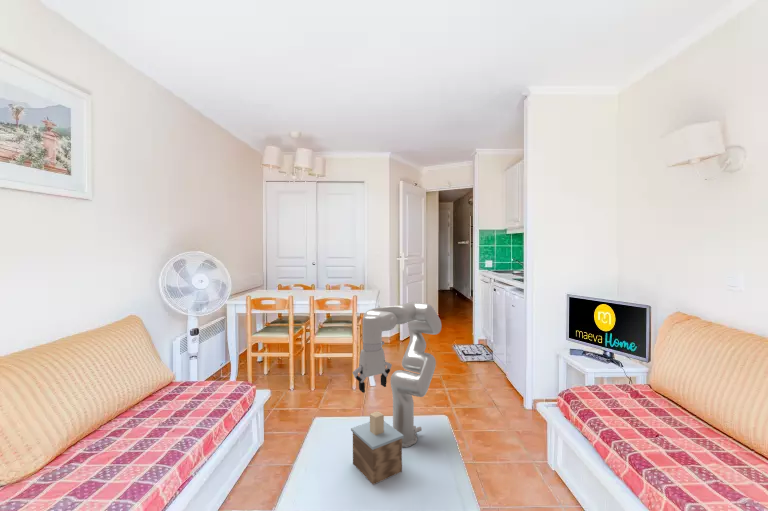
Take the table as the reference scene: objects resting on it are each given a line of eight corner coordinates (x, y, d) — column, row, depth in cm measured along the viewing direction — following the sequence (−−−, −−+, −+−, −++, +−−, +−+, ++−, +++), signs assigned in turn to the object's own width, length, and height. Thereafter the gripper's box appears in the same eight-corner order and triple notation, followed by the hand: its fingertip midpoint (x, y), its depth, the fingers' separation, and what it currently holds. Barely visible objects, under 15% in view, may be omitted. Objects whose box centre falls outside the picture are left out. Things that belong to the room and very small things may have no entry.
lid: (380, 423, 148) (380, 402, 148) (403, 440, 135) (403, 417, 135) (351, 433, 140) (351, 411, 140) (372, 453, 127) (372, 428, 127)
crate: (380, 452, 148) (380, 421, 148) (401, 471, 135) (401, 437, 135) (352, 463, 140) (352, 430, 140) (373, 484, 128) (373, 448, 127)
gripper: (386, 340, 144) (386, 380, 145) (348, 347, 135) (349, 390, 136) (395, 344, 138) (396, 387, 138) (357, 352, 129) (357, 397, 129)
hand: (373, 388), depth 137 cm, fingers open, 9 cm apart
